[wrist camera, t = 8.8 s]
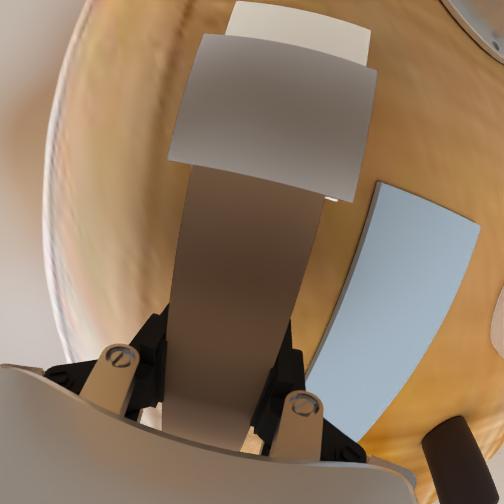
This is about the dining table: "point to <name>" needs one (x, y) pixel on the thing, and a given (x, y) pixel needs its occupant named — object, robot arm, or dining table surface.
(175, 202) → the dining table surface
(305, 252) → the tool
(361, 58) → the tile
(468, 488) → the bottle
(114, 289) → the dining table surface
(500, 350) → the honey pot
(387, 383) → the mat
